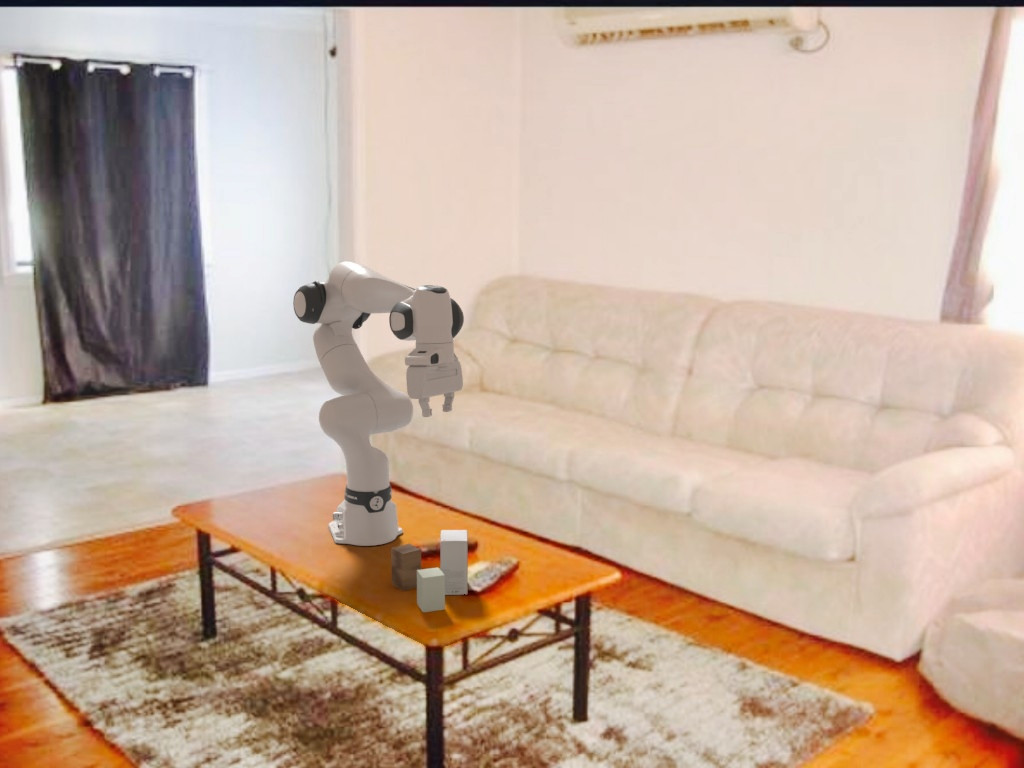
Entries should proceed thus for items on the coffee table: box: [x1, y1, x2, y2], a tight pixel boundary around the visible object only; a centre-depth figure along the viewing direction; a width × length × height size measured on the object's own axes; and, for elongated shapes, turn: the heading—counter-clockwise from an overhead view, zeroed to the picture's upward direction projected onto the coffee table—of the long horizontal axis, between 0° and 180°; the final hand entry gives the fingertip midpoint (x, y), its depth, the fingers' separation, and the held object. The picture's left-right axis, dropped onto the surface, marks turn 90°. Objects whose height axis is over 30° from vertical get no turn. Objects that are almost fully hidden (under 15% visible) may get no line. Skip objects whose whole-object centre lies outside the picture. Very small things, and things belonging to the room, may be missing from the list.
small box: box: [439, 529, 469, 596], centre depth 239 cm, size 8×6×13 cm
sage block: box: [416, 566, 446, 613], centre depth 229 cm, size 5×5×8 cm
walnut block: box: [390, 543, 422, 592], centre depth 241 cm, size 5×5×9 cm
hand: (437, 414), depth 242 cm, fingers open, 8 cm apart
